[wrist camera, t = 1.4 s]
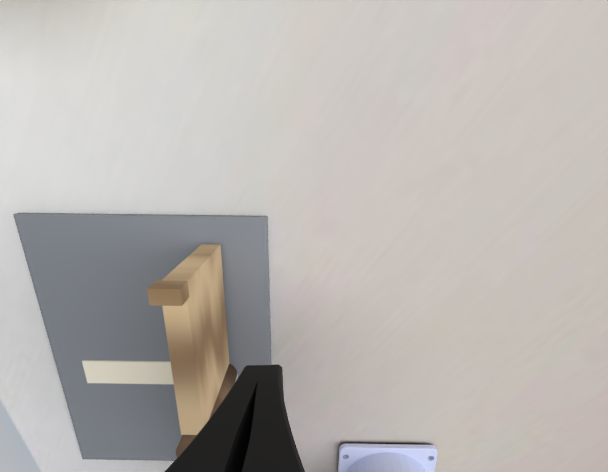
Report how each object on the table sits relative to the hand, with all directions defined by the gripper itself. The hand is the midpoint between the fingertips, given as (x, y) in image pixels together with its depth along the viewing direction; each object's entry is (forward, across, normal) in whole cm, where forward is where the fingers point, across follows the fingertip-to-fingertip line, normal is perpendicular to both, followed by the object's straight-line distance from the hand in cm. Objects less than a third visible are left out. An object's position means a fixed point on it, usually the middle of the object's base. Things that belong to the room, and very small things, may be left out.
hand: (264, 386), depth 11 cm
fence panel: (+9, +5, +2) cm, 10 cm away
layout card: (+9, +9, +6) cm, 14 cm away
